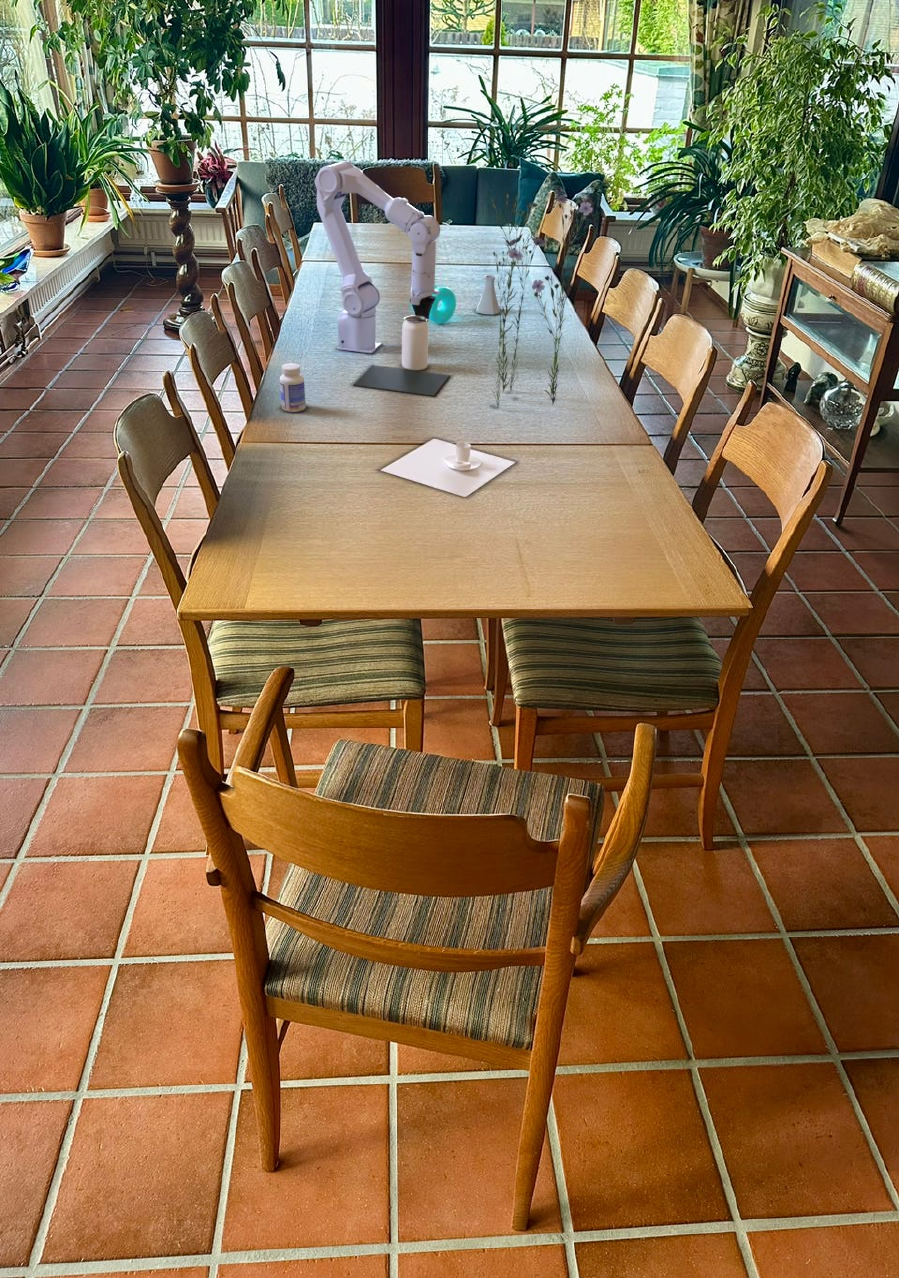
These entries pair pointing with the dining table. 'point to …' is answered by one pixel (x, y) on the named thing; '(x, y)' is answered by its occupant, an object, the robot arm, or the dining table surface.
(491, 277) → the flask
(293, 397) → the pill bottle
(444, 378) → the mat
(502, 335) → the wildflower
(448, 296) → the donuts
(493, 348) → the dining table surface
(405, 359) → the can
